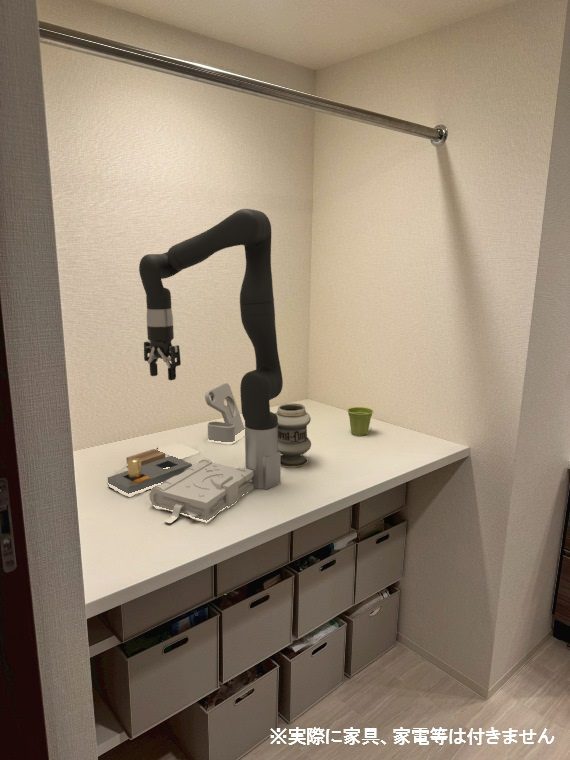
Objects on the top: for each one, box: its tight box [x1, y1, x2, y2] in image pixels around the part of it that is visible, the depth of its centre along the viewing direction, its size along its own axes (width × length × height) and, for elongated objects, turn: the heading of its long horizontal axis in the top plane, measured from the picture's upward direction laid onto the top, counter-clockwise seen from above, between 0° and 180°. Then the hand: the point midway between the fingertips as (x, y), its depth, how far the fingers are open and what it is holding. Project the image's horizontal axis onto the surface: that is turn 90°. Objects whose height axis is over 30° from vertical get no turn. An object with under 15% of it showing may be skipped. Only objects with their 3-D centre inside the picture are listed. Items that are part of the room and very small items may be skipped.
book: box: [149, 458, 255, 521], centre depth 144 cm, size 19×28×8 cm
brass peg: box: [126, 457, 142, 481], centre depth 153 cm, size 4×4×8 cm
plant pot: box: [346, 406, 374, 436], centre depth 198 cm, size 9×9×9 cm
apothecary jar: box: [274, 402, 312, 468], centre depth 171 cm, size 12×12×18 cm
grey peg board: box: [107, 455, 193, 494], centre depth 158 cm, size 10×22×3 cm, turn 139°
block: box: [126, 448, 166, 466], centre depth 169 cm, size 6×10×3 cm, turn 139°
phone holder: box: [204, 382, 245, 442], centre depth 194 cm, size 17×10×18 cm, turn 160°
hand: (162, 377), depth 164 cm, fingers open, 8 cm apart
